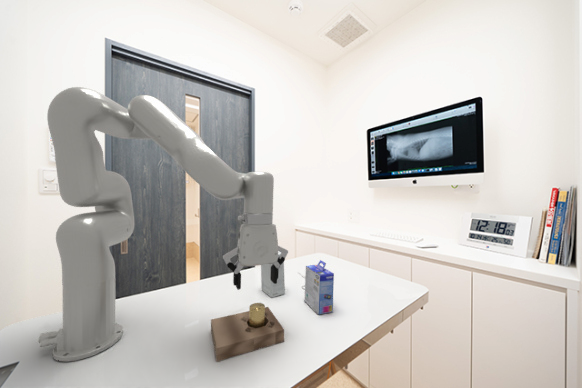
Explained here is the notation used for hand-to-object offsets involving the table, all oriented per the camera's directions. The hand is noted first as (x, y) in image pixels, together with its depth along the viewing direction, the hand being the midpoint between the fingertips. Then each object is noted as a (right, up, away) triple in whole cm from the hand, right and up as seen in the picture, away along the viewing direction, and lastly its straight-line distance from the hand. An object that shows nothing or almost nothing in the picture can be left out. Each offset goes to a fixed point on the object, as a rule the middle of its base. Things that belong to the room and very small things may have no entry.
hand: (256, 284), depth 59 cm
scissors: (+17, -13, +36) cm, 42 cm away
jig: (-2, -13, -1) cm, 13 cm away
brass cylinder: (0, -13, 0) cm, 13 cm away
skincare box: (+2, -13, +24) cm, 28 cm away
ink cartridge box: (+18, -13, +14) cm, 26 cm away
